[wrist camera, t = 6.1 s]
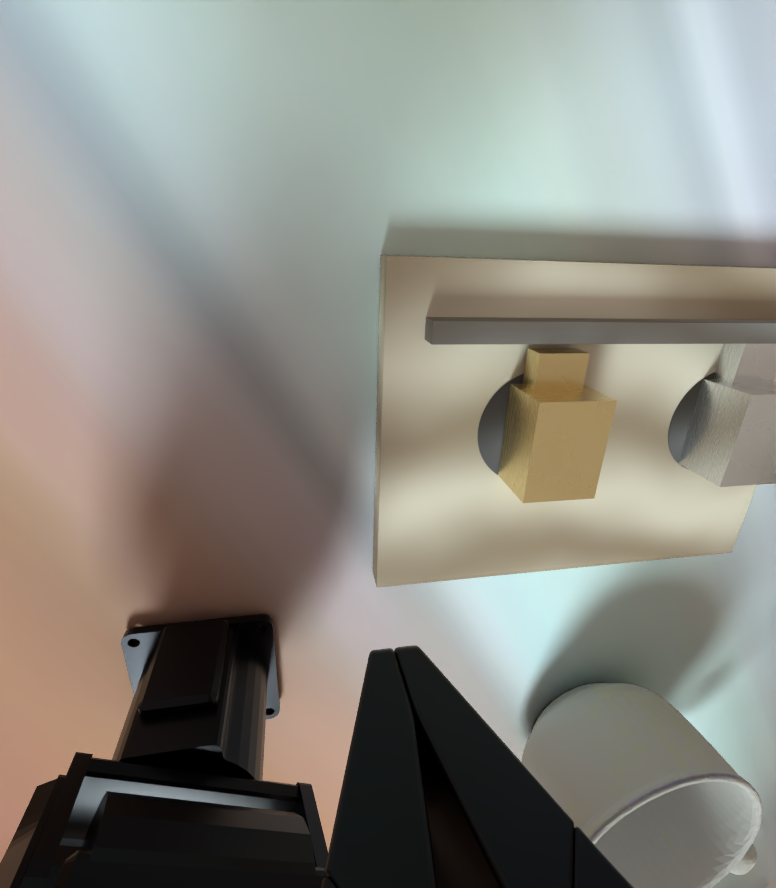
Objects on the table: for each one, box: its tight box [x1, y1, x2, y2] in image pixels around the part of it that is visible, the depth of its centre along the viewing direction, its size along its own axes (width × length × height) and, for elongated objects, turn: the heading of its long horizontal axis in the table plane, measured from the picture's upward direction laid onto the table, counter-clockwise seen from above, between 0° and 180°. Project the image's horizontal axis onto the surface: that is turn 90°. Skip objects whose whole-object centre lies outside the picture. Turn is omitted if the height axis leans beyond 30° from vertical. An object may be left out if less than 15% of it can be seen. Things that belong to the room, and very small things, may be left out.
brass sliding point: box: [498, 348, 617, 503], centre depth 18 cm, size 5×3×2 cm, turn 178°
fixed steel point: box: [678, 344, 776, 487], centre depth 20 cm, size 6×3×2 cm, turn 178°
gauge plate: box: [373, 255, 776, 587], centre depth 21 cm, size 14×19×2 cm
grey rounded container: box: [522, 683, 762, 888], centre depth 27 cm, size 14×11×8 cm
